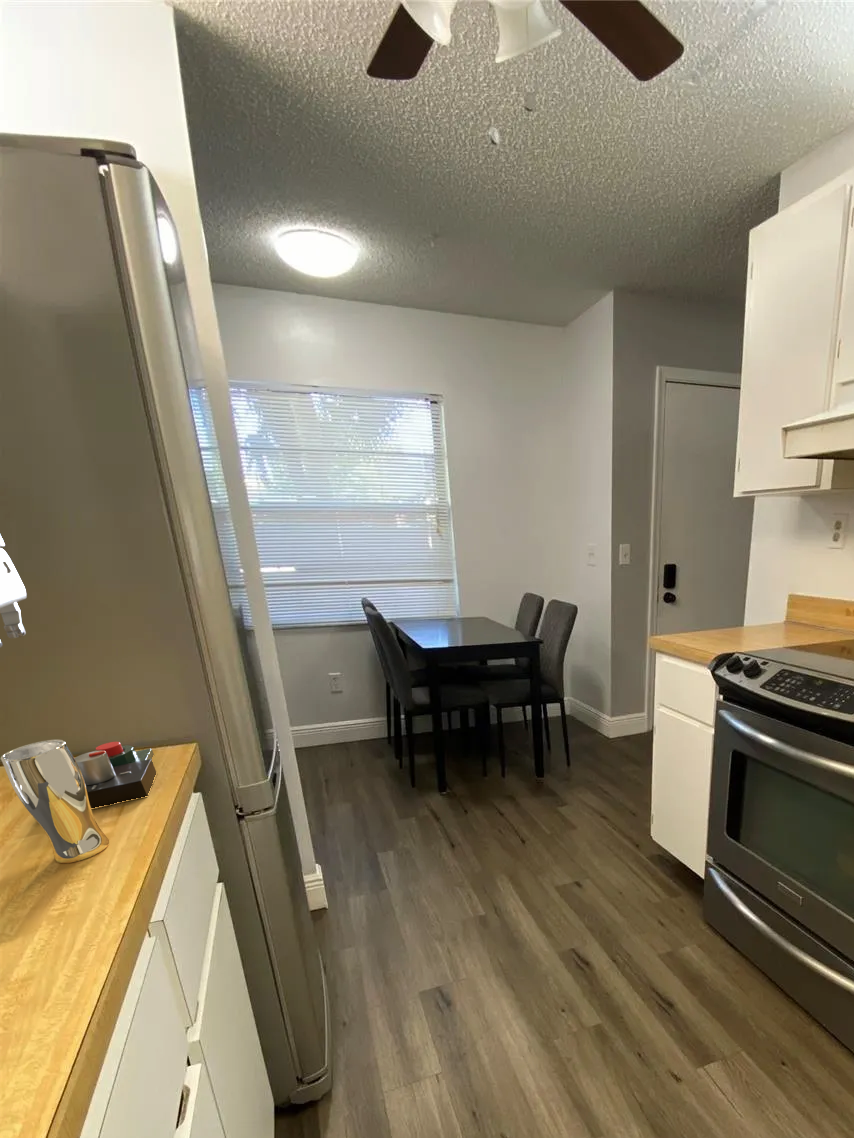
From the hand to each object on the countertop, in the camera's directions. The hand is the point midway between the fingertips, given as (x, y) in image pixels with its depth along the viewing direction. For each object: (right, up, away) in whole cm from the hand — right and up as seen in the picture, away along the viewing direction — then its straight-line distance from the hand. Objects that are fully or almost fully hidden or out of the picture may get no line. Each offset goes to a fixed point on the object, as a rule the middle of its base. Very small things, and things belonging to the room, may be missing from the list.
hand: (6, 642), depth 88 cm
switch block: (-1, -18, +23) cm, 29 cm away
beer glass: (+12, -29, -2) cm, 31 cm away
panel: (+3, -22, +15) cm, 26 cm away
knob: (+3, -19, +13) cm, 23 cm away
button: (-1, -15, +21) cm, 26 cm away
